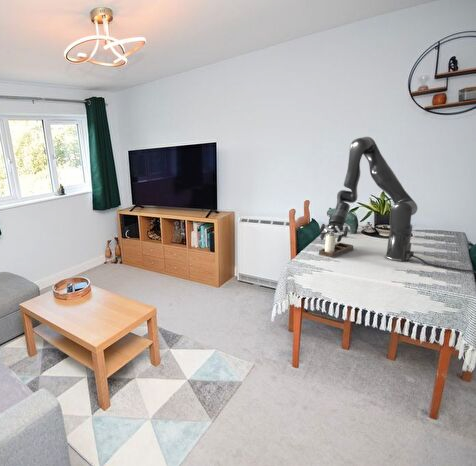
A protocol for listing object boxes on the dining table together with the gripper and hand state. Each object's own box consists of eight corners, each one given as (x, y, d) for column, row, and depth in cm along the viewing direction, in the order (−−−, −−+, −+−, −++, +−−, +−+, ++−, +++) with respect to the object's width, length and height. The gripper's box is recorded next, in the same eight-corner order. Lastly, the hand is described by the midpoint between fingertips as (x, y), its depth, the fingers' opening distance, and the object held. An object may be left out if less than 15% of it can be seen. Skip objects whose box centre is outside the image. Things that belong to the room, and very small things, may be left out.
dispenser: (335, 254, 189) (338, 229, 184) (331, 255, 186) (333, 230, 182) (327, 252, 193) (329, 227, 189) (322, 253, 191) (324, 229, 187)
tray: (353, 249, 194) (353, 245, 194) (332, 258, 184) (332, 253, 184) (339, 246, 201) (339, 242, 200) (318, 254, 191) (319, 250, 190)
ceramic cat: (324, 230, 237) (326, 205, 232) (328, 228, 241) (330, 203, 235) (355, 234, 221) (358, 207, 216) (358, 232, 225) (361, 205, 220)
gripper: (324, 213, 193) (315, 235, 189) (351, 215, 182) (342, 239, 178) (326, 220, 198) (318, 241, 194) (353, 222, 187) (344, 245, 183)
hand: (329, 240), depth 186 cm, fingers open, 8 cm apart
